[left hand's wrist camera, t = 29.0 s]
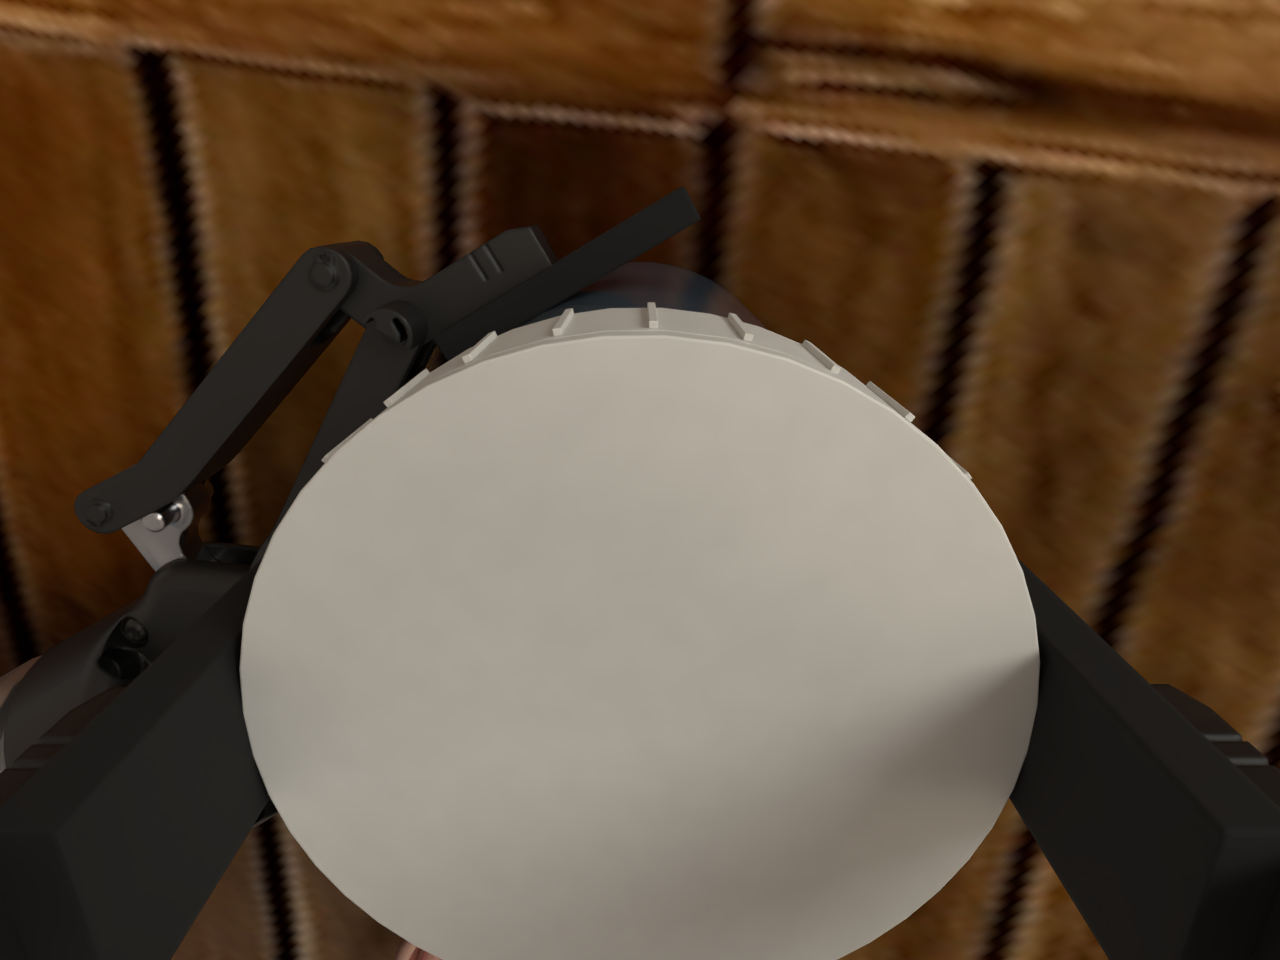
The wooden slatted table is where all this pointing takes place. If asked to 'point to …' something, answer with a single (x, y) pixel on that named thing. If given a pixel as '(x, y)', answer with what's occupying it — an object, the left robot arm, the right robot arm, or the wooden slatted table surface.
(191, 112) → the wooden slatted table surface
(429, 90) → the wooden slatted table surface
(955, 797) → the lid
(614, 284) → the jar
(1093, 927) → the left robot arm
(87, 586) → the wooden slatted table surface
